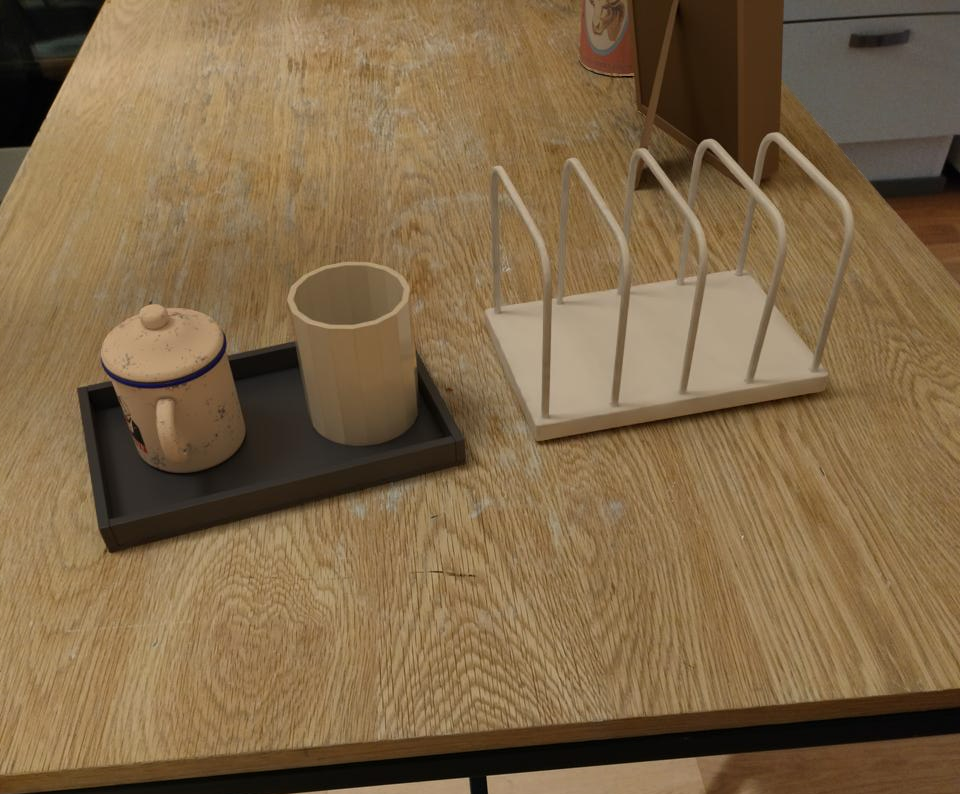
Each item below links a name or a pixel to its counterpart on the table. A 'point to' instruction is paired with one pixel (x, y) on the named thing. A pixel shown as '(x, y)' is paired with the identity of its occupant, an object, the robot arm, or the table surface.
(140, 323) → the teacup with lid
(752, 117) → the photo frame
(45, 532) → the table surface
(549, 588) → the table surface
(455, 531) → the table surface
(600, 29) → the canned food
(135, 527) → the tray
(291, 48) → the table surface
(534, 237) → the file sorter
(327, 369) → the cream cup
